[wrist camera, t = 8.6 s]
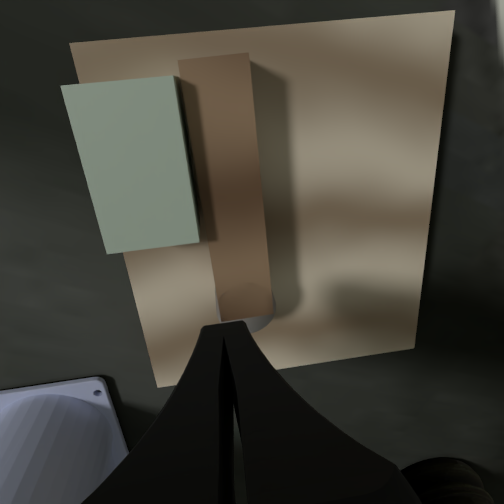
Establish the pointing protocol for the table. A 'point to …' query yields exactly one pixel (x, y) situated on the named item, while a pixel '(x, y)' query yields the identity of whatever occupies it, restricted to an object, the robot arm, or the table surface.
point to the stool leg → (230, 184)
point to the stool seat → (309, 183)
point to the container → (446, 482)
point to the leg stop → (136, 161)
